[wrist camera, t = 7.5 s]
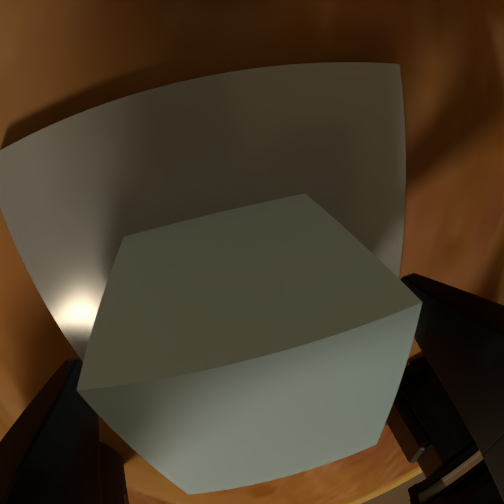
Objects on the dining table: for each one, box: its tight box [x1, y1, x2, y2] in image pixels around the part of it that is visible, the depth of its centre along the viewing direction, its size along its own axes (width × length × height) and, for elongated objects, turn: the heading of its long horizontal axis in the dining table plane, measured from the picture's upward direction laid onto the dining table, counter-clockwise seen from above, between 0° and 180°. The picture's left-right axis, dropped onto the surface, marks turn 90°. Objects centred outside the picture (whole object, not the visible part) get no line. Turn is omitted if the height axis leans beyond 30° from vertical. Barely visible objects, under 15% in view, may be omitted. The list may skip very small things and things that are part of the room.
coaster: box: [0, 62, 406, 362], centre depth 10 cm, size 12×12×1 cm
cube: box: [77, 193, 422, 495], centre depth 7 cm, size 5×5×5 cm
